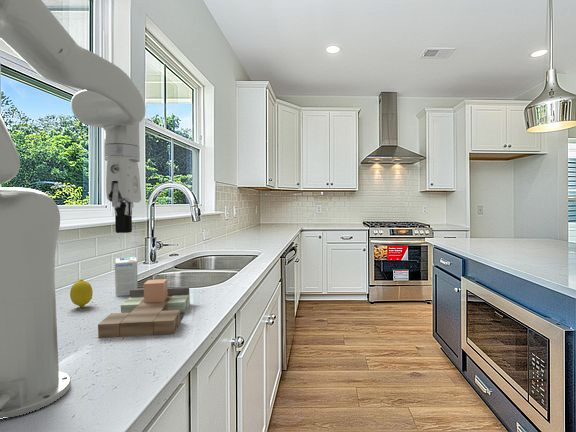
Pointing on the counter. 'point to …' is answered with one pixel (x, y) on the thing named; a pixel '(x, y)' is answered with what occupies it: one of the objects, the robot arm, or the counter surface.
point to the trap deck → (146, 315)
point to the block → (155, 290)
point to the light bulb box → (125, 275)
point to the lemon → (81, 293)
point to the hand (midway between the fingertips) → (123, 232)
